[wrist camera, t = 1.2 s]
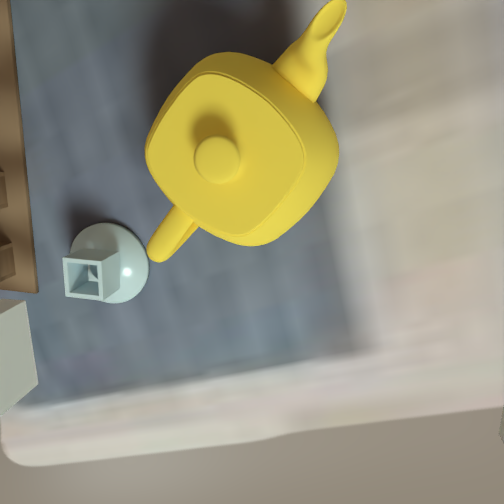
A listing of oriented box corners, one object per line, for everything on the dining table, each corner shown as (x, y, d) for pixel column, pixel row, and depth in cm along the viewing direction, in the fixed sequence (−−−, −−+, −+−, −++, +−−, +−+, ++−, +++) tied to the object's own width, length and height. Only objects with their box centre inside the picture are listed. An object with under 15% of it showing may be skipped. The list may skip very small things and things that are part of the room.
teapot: (402, 97, 34) (440, 79, 22) (246, 276, 40) (211, 336, 28) (272, -16, 33) (240, -97, 22) (134, 182, 40) (51, 204, 28)
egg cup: (70, 219, 42) (37, 230, 37) (148, 226, 41) (124, 238, 36) (76, 296, 44) (45, 316, 39) (150, 305, 43) (127, 326, 38)
